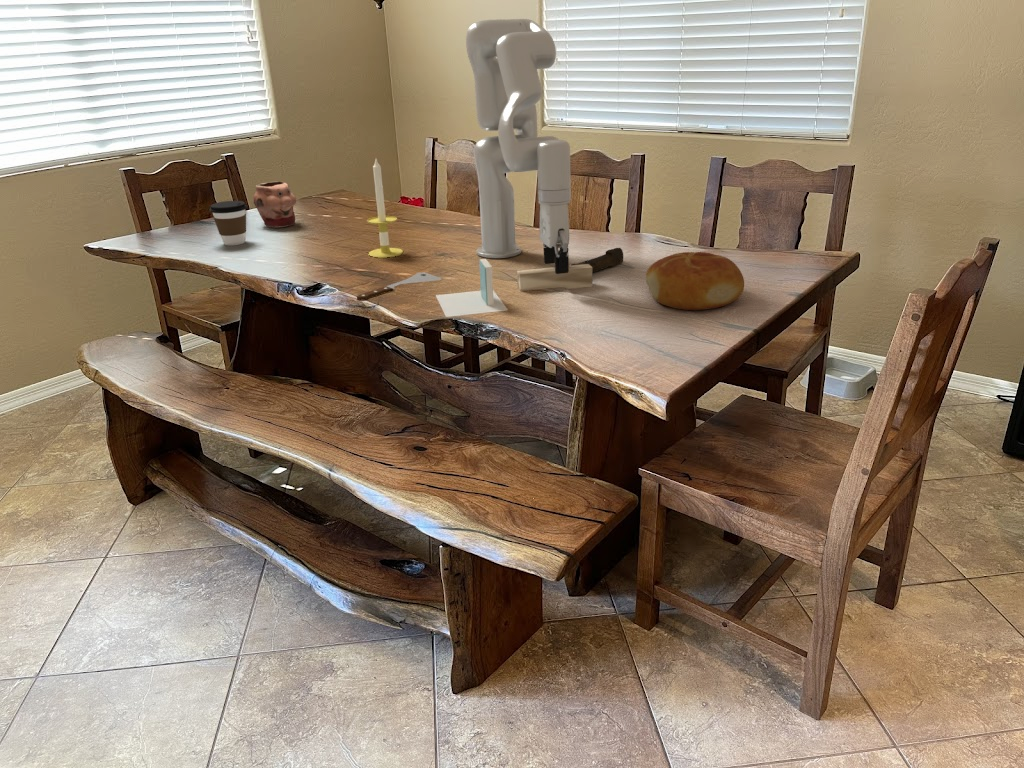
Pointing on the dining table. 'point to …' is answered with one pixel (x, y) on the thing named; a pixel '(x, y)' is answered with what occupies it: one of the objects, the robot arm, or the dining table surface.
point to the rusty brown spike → (605, 260)
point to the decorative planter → (275, 204)
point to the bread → (695, 281)
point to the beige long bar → (555, 278)
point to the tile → (486, 281)
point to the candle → (382, 219)
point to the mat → (468, 304)
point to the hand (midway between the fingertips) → (556, 268)
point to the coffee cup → (230, 221)
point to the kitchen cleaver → (416, 278)
